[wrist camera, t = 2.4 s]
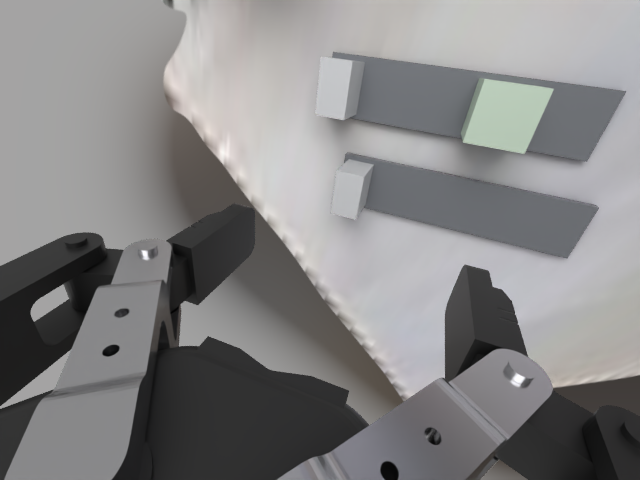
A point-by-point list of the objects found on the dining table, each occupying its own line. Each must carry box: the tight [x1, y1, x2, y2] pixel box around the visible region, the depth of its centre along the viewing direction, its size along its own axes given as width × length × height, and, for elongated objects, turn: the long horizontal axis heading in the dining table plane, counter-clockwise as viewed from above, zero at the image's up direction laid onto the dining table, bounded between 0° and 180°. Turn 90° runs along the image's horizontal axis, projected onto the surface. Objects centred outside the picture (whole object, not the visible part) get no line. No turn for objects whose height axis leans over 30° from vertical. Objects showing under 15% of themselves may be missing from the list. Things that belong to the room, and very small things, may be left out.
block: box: [461, 78, 554, 154], centre depth 28 cm, size 5×5×5 cm
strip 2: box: [330, 153, 599, 258], centre depth 33 cm, size 26×6×6 cm, turn 83°
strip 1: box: [315, 52, 626, 161], centre depth 29 cm, size 26×6×6 cm, turn 83°
